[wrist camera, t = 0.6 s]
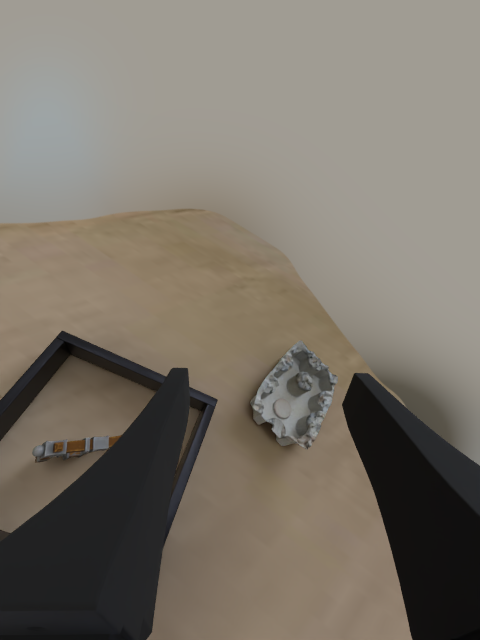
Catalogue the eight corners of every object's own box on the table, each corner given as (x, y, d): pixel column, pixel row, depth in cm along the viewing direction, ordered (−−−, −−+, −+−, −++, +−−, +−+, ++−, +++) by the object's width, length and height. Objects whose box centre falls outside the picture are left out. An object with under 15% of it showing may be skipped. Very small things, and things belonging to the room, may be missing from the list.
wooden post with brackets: (23, 447, 21) (37, 434, 18) (126, 435, 26) (148, 424, 24) (19, 474, 20) (33, 464, 17) (126, 455, 25) (149, 446, 23)
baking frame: (138, 595, 19) (139, 611, 17) (-79, 520, 18) (-112, 525, 15) (210, 406, 28) (218, 399, 26) (68, 344, 26) (61, 330, 24)
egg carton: (288, 458, 28) (309, 455, 25) (237, 407, 29) (251, 397, 26) (330, 388, 34) (351, 378, 31) (287, 348, 35) (303, 334, 32)
